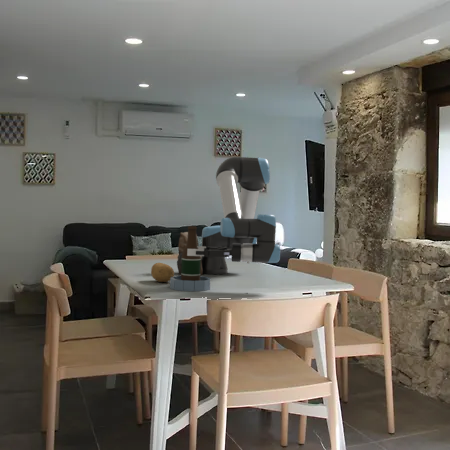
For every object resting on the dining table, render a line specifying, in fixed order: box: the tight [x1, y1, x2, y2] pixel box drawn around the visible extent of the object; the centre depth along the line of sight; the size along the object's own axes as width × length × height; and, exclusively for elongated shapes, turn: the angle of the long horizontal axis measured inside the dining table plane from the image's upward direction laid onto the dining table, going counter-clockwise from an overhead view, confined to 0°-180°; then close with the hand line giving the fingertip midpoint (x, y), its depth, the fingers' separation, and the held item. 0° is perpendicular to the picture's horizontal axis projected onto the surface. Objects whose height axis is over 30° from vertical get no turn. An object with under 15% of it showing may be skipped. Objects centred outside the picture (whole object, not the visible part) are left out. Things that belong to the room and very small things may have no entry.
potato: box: [150, 262, 175, 283], centre depth 246 cm, size 10×14×8 cm
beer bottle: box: [180, 225, 201, 281], centre depth 232 cm, size 8×8×24 cm
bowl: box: [169, 275, 211, 292], centre depth 232 cm, size 16×16×4 cm
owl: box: [176, 231, 204, 276], centre depth 279 cm, size 13×13×20 cm
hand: (188, 250), depth 231 cm, fingers open, 13 cm apart
